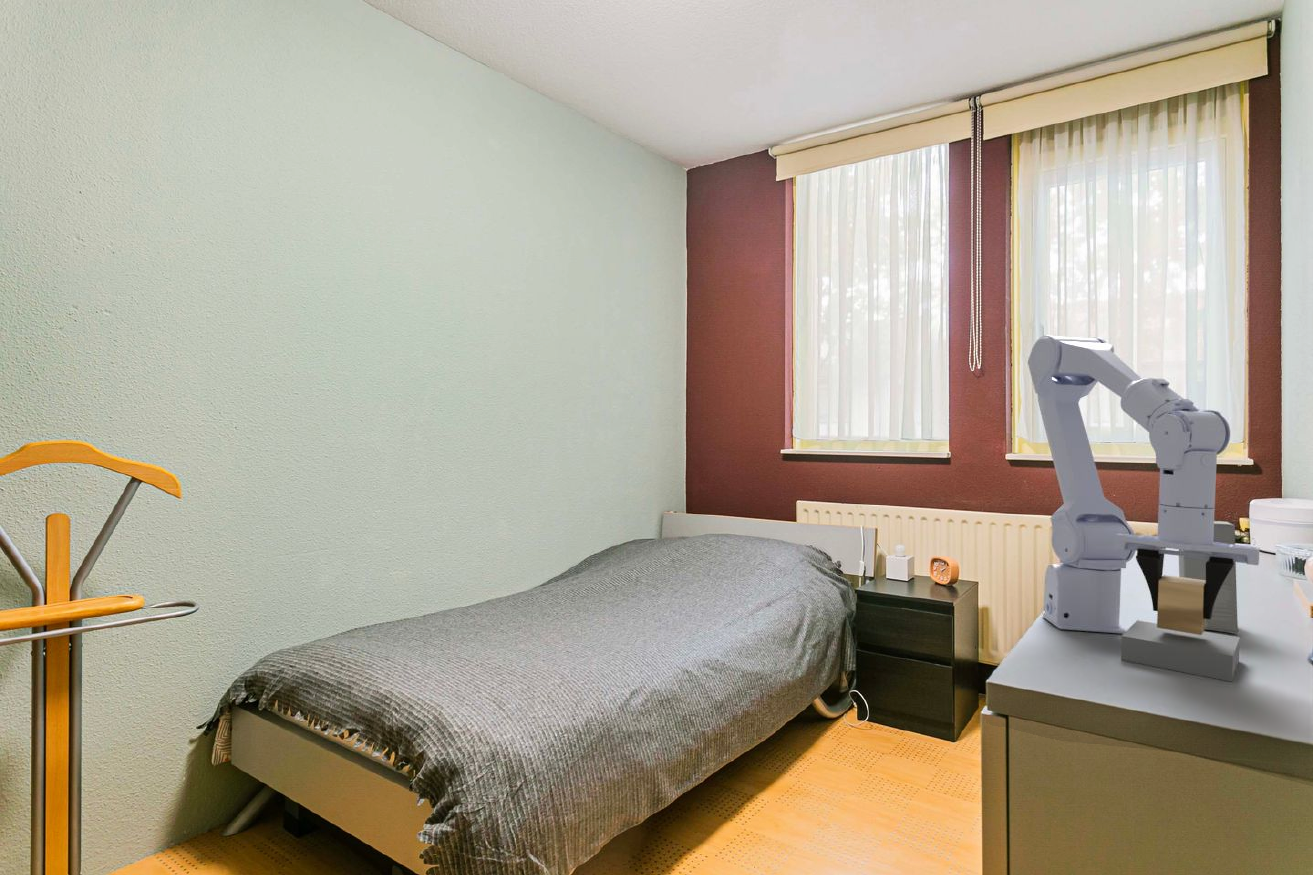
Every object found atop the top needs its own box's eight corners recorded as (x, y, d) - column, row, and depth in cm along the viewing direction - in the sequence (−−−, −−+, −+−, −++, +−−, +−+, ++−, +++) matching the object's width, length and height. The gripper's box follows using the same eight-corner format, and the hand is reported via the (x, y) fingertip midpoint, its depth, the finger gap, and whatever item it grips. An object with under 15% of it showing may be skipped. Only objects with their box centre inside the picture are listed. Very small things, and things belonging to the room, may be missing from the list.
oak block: (1201, 635, 89) (1203, 585, 89) (1157, 627, 92) (1158, 580, 92) (1205, 627, 93) (1207, 580, 92) (1162, 620, 96) (1164, 574, 95)
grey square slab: (1231, 681, 85) (1232, 655, 85) (1120, 659, 92) (1121, 635, 92) (1238, 660, 93) (1239, 637, 93) (1136, 642, 100) (1137, 620, 100)
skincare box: (1238, 635, 105) (1242, 525, 105) (1177, 627, 109) (1181, 521, 109) (1230, 623, 113) (1234, 520, 112) (1173, 615, 116) (1177, 515, 116)
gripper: (1112, 502, 94) (1108, 608, 94) (1258, 514, 85) (1254, 631, 85) (1123, 499, 99) (1119, 599, 100) (1262, 510, 90) (1257, 620, 90)
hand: (1181, 613), depth 93 cm, fingers closed on oak block, 4 cm apart
